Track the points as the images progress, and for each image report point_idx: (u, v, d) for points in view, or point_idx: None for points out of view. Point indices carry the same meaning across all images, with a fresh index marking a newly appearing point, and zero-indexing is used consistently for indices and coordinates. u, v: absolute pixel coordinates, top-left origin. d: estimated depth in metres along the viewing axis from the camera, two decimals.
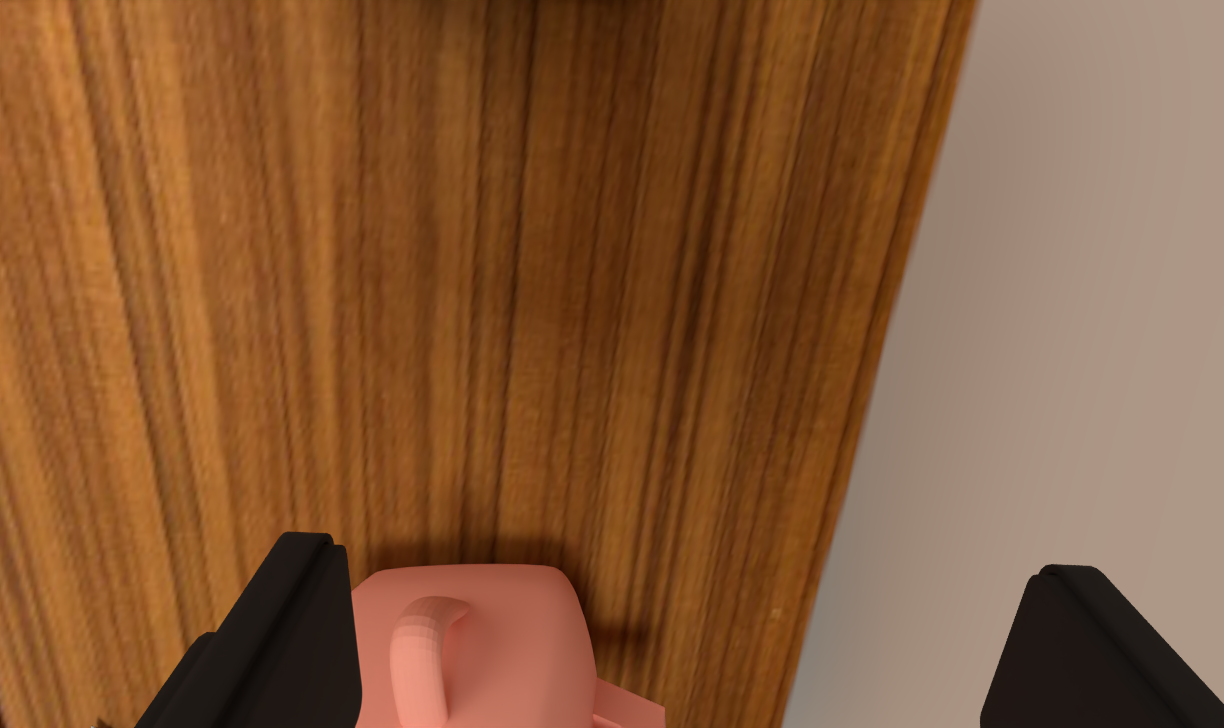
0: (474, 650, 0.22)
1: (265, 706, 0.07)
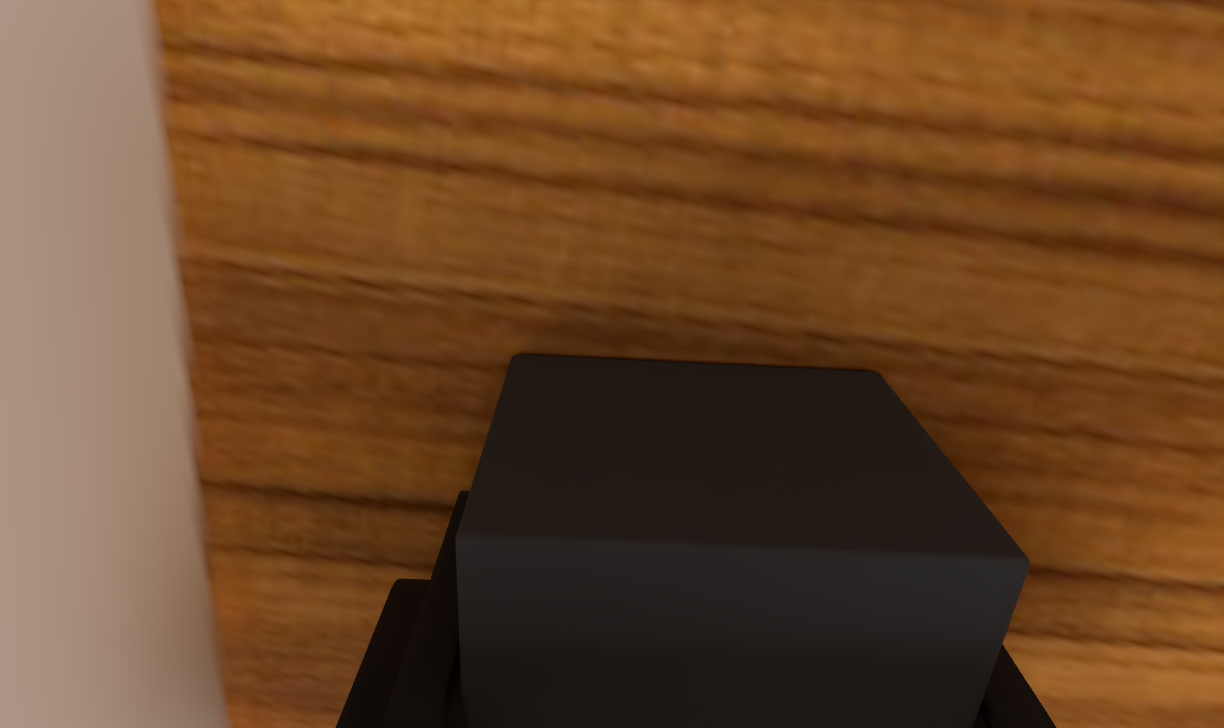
0: None
1: None
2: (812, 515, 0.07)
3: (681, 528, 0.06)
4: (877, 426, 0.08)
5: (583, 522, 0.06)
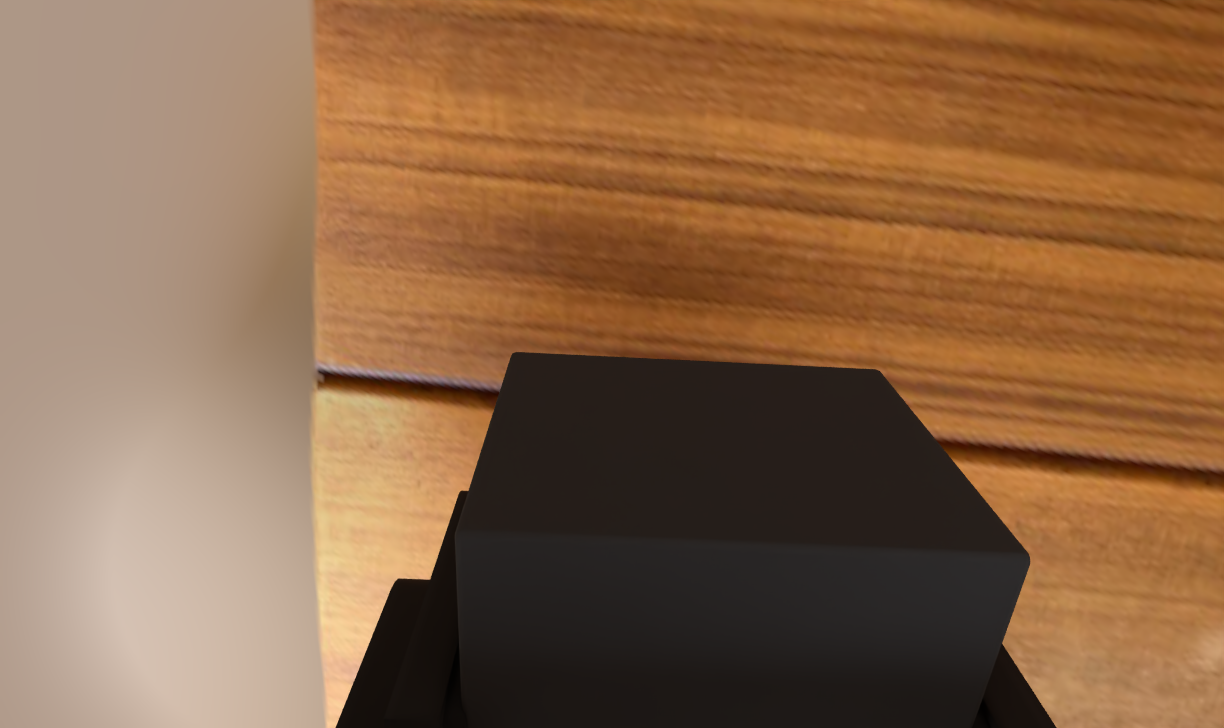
0: None
1: None
2: (813, 511, 0.07)
3: (681, 523, 0.06)
4: (877, 423, 0.08)
5: (583, 518, 0.06)
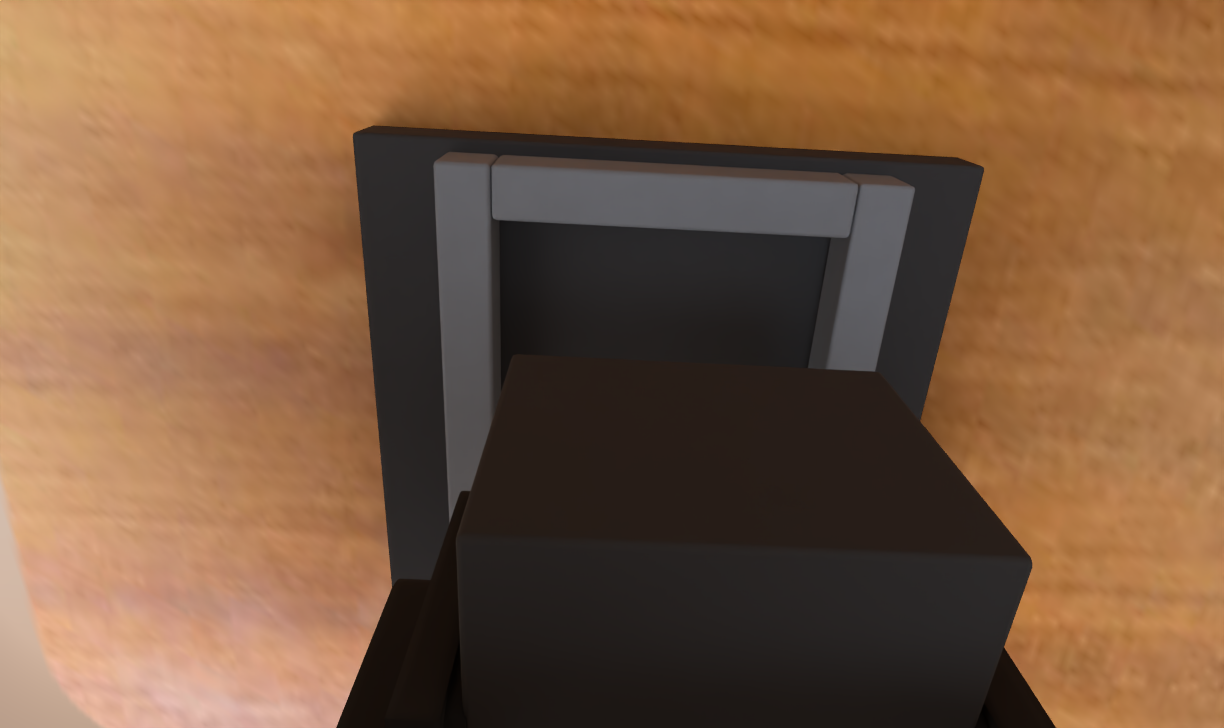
0: None
1: None
2: (814, 515, 0.07)
3: (683, 527, 0.06)
4: (879, 426, 0.08)
5: (585, 521, 0.06)
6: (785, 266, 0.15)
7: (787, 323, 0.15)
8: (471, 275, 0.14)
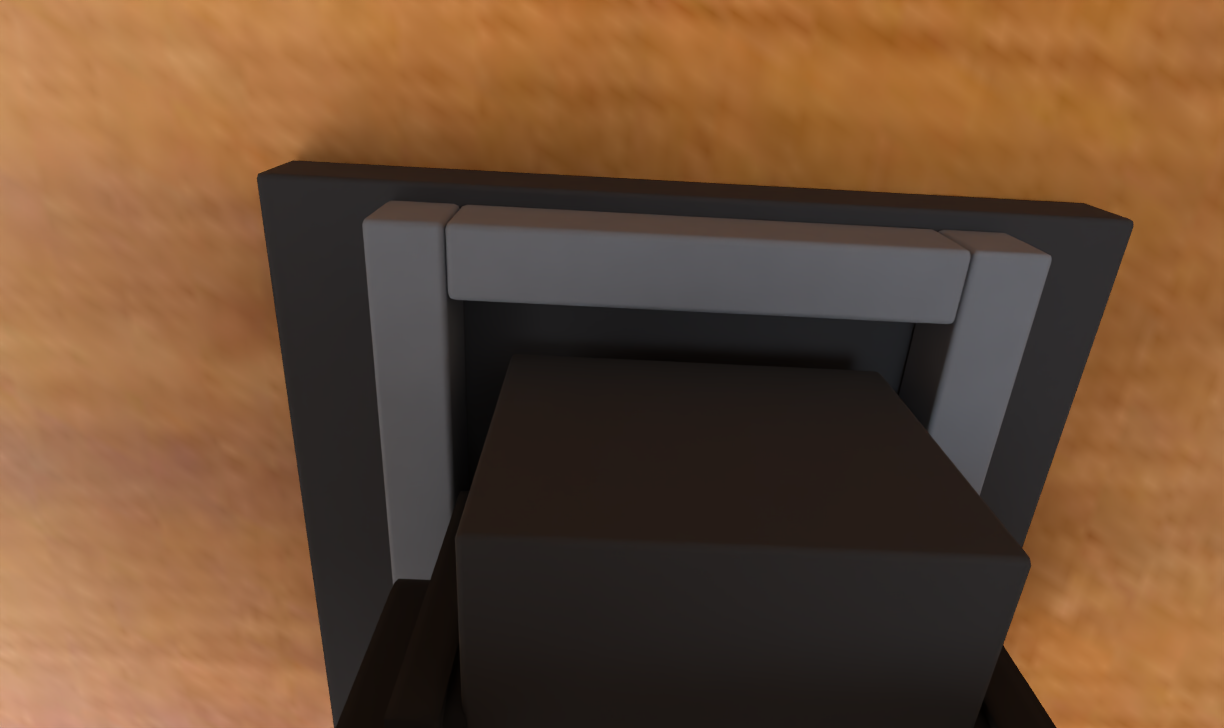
0: None
1: None
2: (813, 513, 0.07)
3: (682, 526, 0.06)
4: (878, 425, 0.08)
5: (584, 521, 0.06)
6: (853, 352, 0.11)
7: None
8: (420, 374, 0.10)
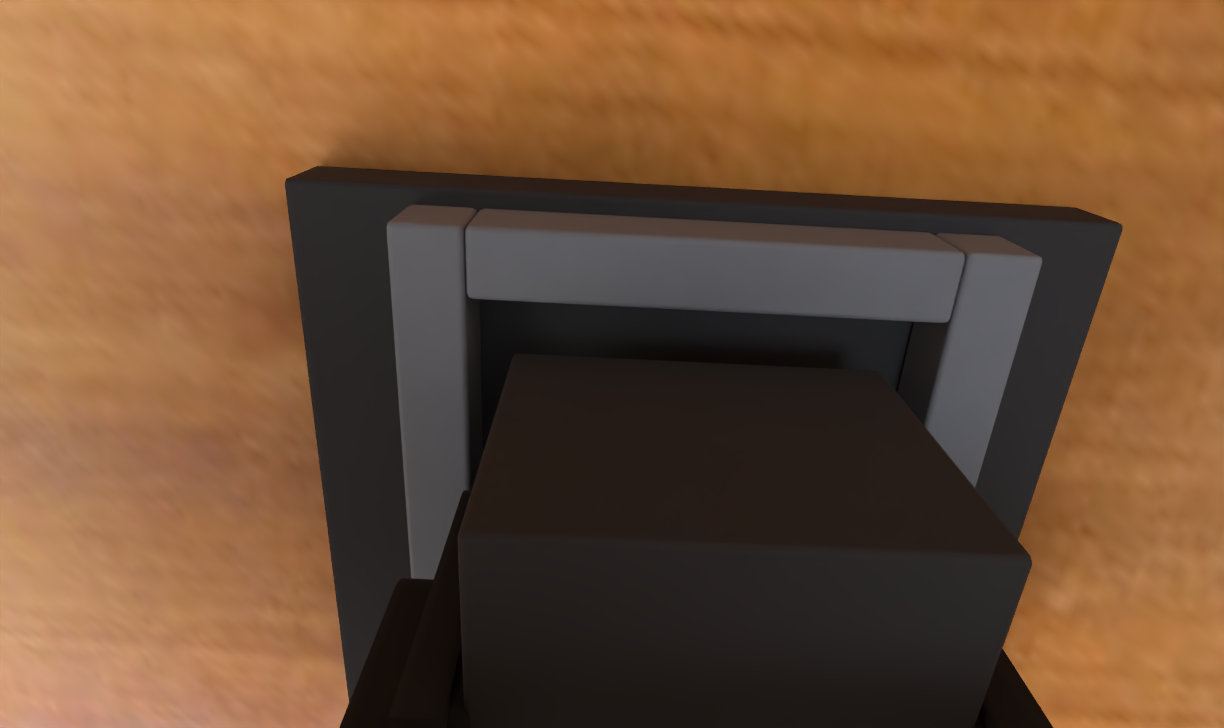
0: None
1: None
2: (814, 513, 0.07)
3: (683, 527, 0.06)
4: (879, 425, 0.08)
5: (587, 520, 0.06)
6: (853, 350, 0.11)
7: None
8: (440, 370, 0.10)
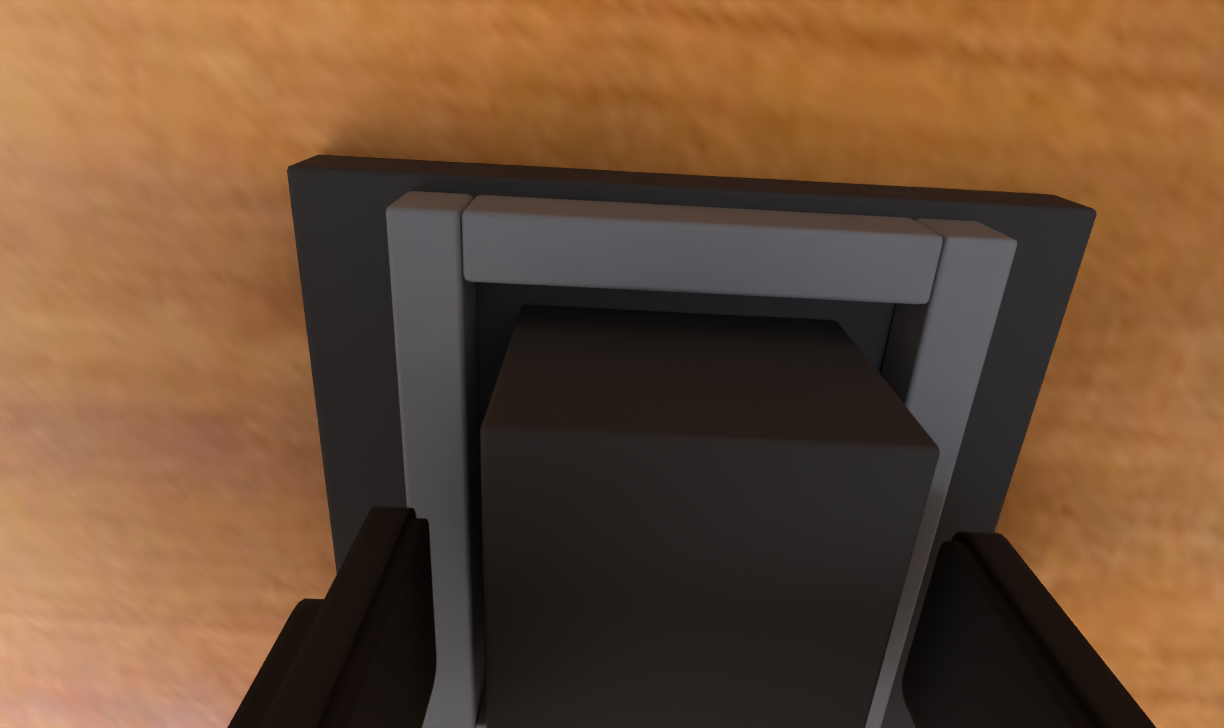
0: None
1: (377, 660, 0.08)
2: (768, 417, 0.08)
3: (661, 423, 0.08)
4: (830, 359, 0.10)
5: (583, 419, 0.08)
6: None
7: None
8: (438, 351, 0.10)
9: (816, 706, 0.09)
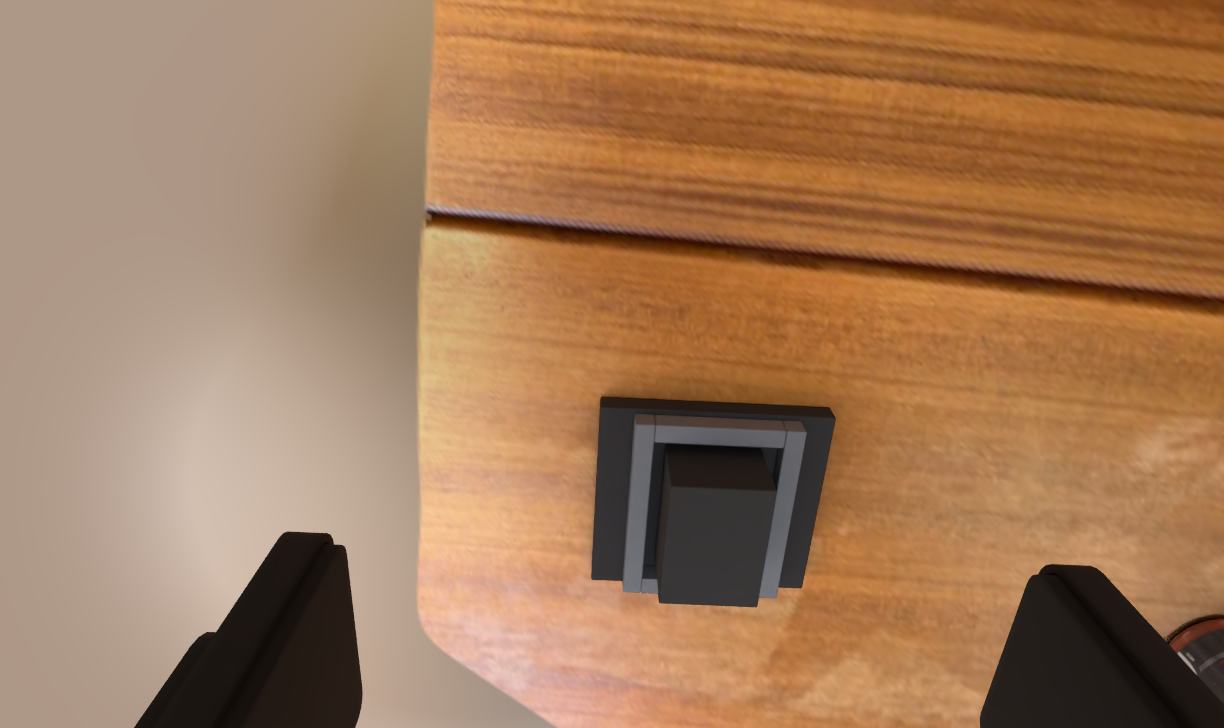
0: None
1: (265, 706, 0.07)
2: (737, 483, 0.35)
3: (712, 485, 0.34)
4: (755, 464, 0.36)
5: (694, 484, 0.34)
6: None
7: None
8: (645, 460, 0.37)
9: (751, 557, 0.36)
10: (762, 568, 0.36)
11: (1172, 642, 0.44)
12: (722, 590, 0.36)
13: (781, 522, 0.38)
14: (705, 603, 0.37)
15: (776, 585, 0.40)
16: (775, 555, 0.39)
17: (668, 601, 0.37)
